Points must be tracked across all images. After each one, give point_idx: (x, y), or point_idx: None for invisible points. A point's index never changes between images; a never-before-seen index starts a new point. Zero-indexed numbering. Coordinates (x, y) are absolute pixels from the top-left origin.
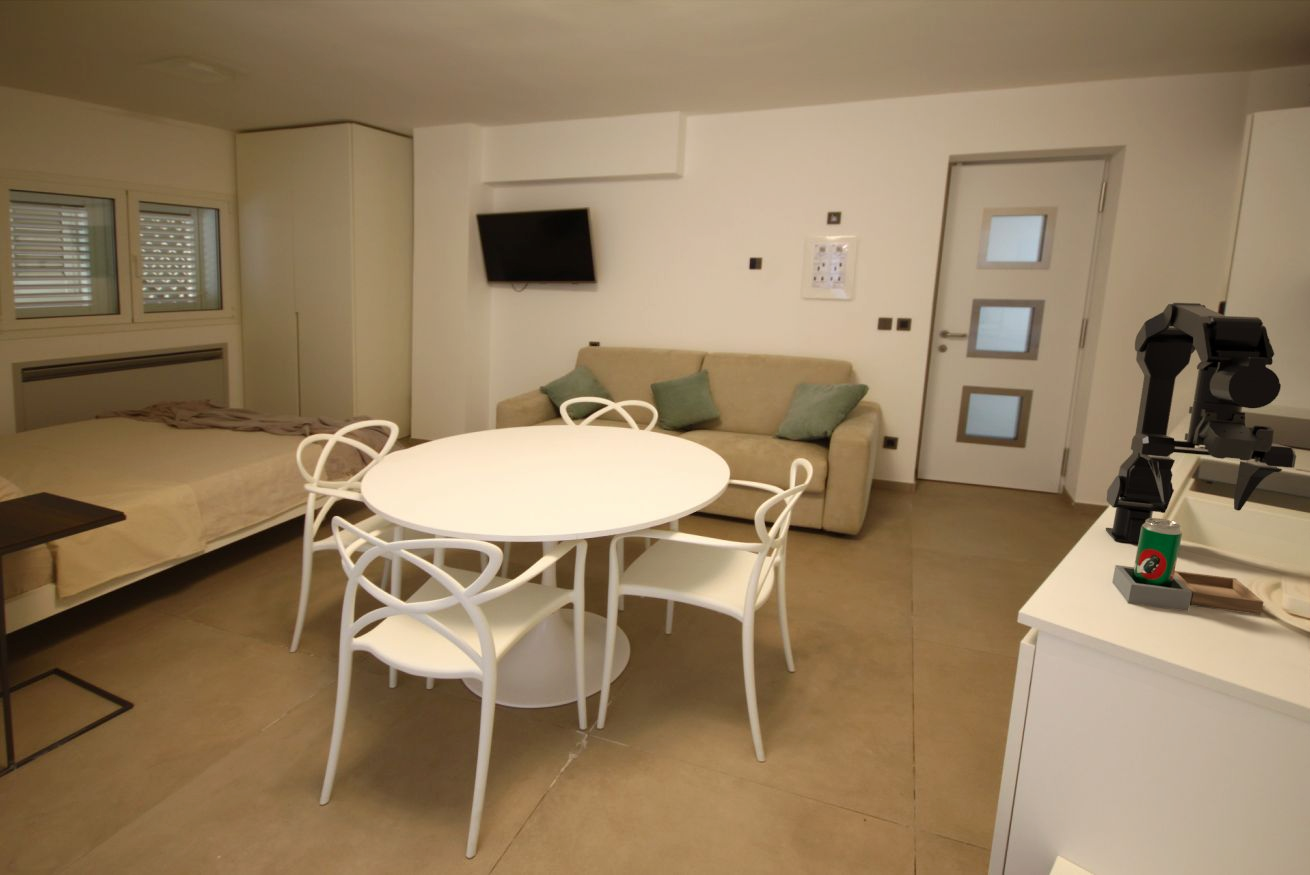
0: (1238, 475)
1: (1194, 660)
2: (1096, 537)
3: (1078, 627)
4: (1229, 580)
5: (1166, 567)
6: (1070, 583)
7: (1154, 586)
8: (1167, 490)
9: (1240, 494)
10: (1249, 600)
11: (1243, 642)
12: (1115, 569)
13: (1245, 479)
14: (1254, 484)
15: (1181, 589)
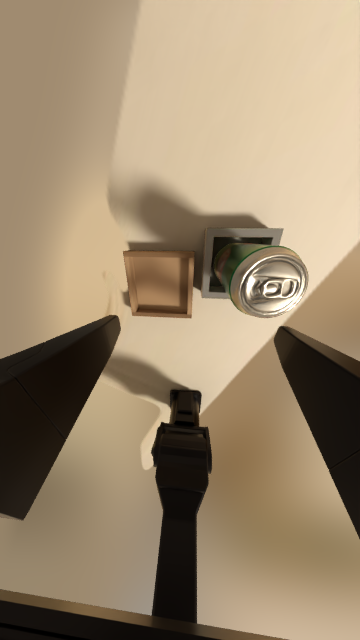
0: (66, 432)
1: None
2: (213, 396)
3: None
4: (138, 311)
5: (242, 244)
6: (312, 273)
7: (251, 232)
8: (314, 344)
9: (93, 343)
10: (136, 252)
11: (177, 133)
12: None
13: (45, 392)
14: (20, 357)
15: (217, 234)
